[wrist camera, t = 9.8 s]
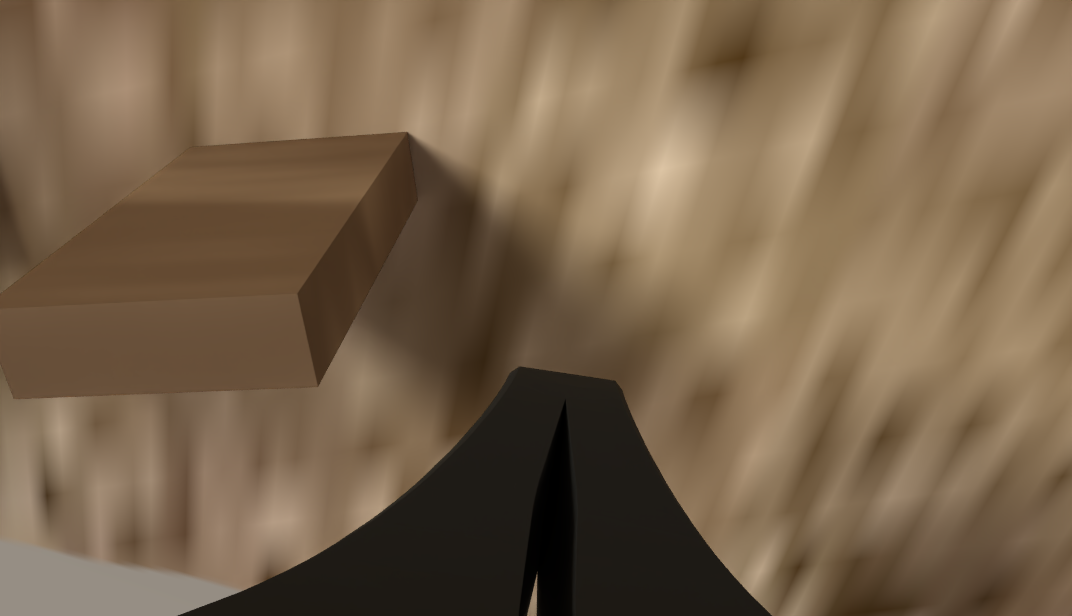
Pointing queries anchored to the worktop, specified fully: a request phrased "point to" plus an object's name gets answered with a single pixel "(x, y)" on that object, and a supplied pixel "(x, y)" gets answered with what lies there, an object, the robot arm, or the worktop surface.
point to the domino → (214, 273)
